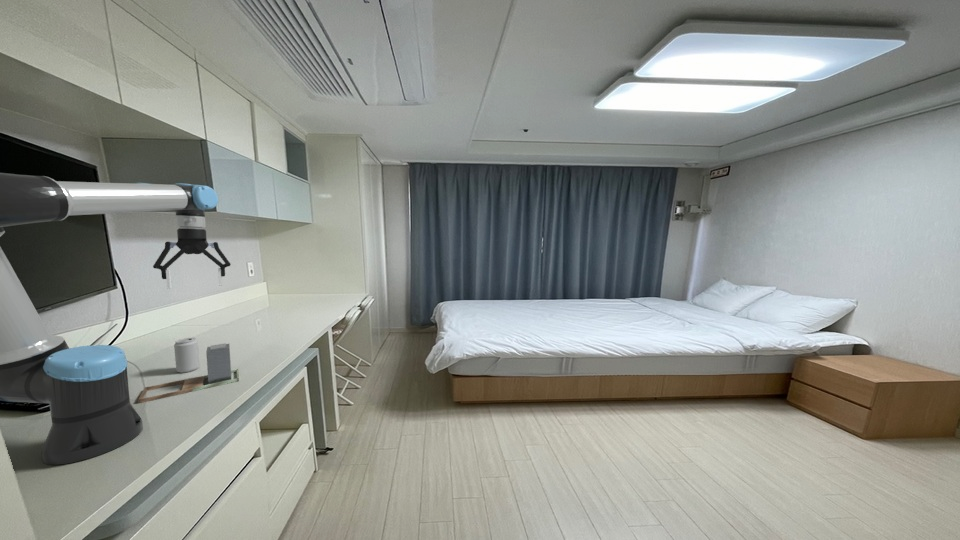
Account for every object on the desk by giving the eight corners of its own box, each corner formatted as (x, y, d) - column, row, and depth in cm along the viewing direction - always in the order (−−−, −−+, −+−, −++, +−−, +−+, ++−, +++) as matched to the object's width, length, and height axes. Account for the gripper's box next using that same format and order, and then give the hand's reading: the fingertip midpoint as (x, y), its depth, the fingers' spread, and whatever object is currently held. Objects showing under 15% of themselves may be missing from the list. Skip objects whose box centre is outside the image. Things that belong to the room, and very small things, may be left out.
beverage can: (204, 367, 117) (202, 337, 116) (186, 374, 111) (184, 342, 109) (189, 366, 118) (187, 336, 116) (171, 373, 111) (168, 342, 110)
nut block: (208, 385, 103) (206, 350, 101) (209, 379, 107) (207, 345, 106) (231, 380, 106) (229, 346, 105) (231, 374, 111) (229, 342, 110)
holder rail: (137, 403, 91) (137, 400, 91) (145, 390, 99) (145, 387, 98) (238, 381, 106) (238, 378, 106) (238, 371, 114) (238, 368, 114)
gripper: (137, 226, 96) (143, 291, 98) (236, 229, 112) (239, 285, 114) (142, 227, 102) (147, 288, 104) (236, 229, 118) (239, 282, 120)
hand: (195, 286), depth 109 cm, fingers open, 13 cm apart
